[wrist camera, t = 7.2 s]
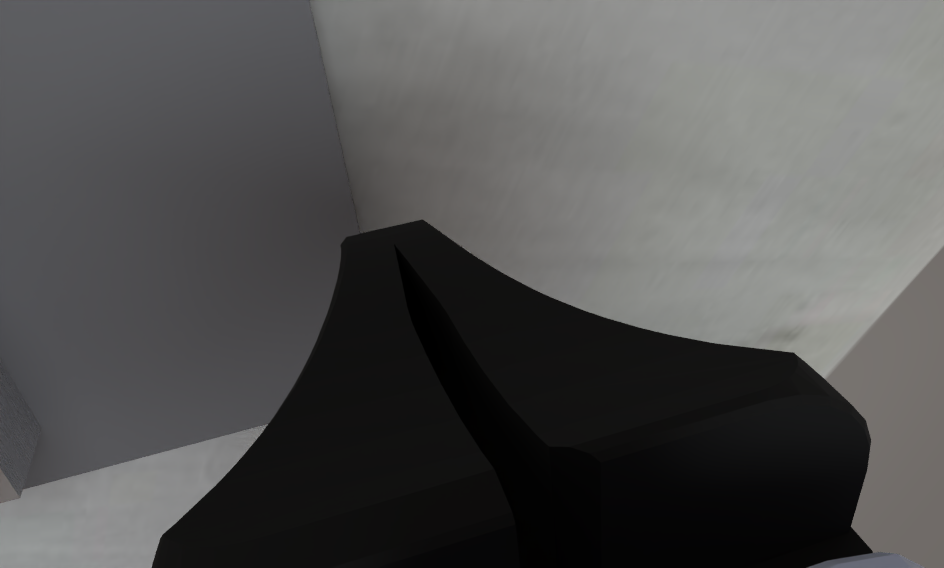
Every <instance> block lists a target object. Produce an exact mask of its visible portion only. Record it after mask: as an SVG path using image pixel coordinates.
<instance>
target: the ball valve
mask: <svg viewBox="0 0 944 568" xmlns="http://www.w3.org/2000/svg"><path fill="white" fill-rule="evenodd" d="M41 428H42V427H41V426H40V424H39V422H38V421H37V419H36V417H35V416H34V414H33V412H32V411H31V409H30V407H29V406H28V404H27V402H26V401H25V399H24V397H23V396H22V394H21V392H20V391H19V389H18V387H17V386H16V384H15V382H14V381H13V379H12V377H11V376H10V374H9V372H8V371H7V369H6V367H5V366H4V364H3V362H2V361H1V359H0V503H3V502H7V501H10V500H14V499H18V498H20V497H21V493H22V490H23V487H24V484H25V480H26V477H27V474H28V470H29V467H30V464H31V461H32V457H33V454H34V451H35V448H36V444H37V441H38V438H39V435H40V431H41Z"/></svg>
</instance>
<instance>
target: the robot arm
mask: <svg viewBox="0 0 944 568" xmlns="http://www.w3.org/2000/svg"><path fill="white" fill-rule="evenodd" d="M340 246H341V261H340V268H339V273H338V278H337V282H336V286H335V289H334V293H333V296H332V300H331V303H330V307H329V310H328V313H327V315H326V318H325V320H324V323H323V325H322V328H321V330H320V333H319V336H318V338H317V341H316V343H315V345H314V347H313V350H312V352H311V354H310V356H309V358H308V360H307V362H306V364H305V366H304V368H303V370H302V372H301V373H300V375H299V377H298V379H297V381H296V382H295V384H294V386H293V388H292V389H291V391H290V392H289V394H288V395H287V397H286V399H285V400H284V402H283V403H282V405H281V406H280V408H279V409H278V411H277V413H276V414H275V416H274V417H273V418H272V420H271V421H270V423H269V424H268V425H267V427H266V428H265V430H264V431H263V432H262V434H261V435H260V436H259V437H258V439H257V440H256V441H255V442H254V443H253V445H252V446H251V447H250V448H249V449H248V451H247V452H246V453H245V454H244V455H243V457H242V458H241V459H240V460H239V461H238V462H237V464H236V465H235V466H234V467H233V468H232V469H231V470H230V471H229V472H228V473H227V474H226V475H225V477H224V478H223V479H222V480H221V481H220V482H219V483H218V484H217V485H216V486H215V487H214V488H213V489H212V490H210V491H209V492H208V493H207V494H206V495H205V496H204V497H203V498H202V499H201V500H200V501H199V502H198V503H197V504H196V505H195V506H194V507H193V508H192V509H190V510H189V511H188V512H187V513H186V514H185V515H184V516H183V517H182V518H181V519H180V520H179V521H178V522H177V523H176V524H175V525H173V526H172V527H171V528H170V529H169V530H168V531H166V532H165V533H164V534H163V535H162V537H161V538H160V542H159V545H158V548H157V551H156V554H155V558H154V561H153V565H152V568H925V567H923V566H921V565H919V564H917V563H915V562H913V561H911V560H909V559H907V558H905V557H903V556H901V555H899V554H894V553H883V552H877V553H873V552H872V550H871V549H870V548H869V547H868V546H867V544H866V543H865V542H864V541H863V540H862V539H861V538H860V537H859V535H857V533H856V532H855V531H854V530H853V529H852V528H851V524H852V520H853V517H854V513H855V510H856V506H857V503H858V499H859V496H860V493H861V489H862V486H863V482H864V479H865V475H866V472H867V467H868V460H869V452H870V444H871V439H870V435H869V431H868V427H867V423H866V420H865V419H864V418H863V417H862V416H861V415H860V414H859V412H858V411H857V410H856V409H855V408H854V407H853V406H852V405H851V404H850V403H849V402H848V401H847V400H846V399H845V398H844V397H843V396H842V395H841V394H840V393H838V391H836V390H835V389H834V388H833V387H832V386H831V385H830V384H829V383H828V382H827V381H826V380H825V379H824V378H823V377H822V376H820V375H819V374H818V373H817V372H816V371H815V370H814V369H812V368H811V367H810V366H809V365H808V364H807V363H806V362H804V361H803V360H802V359H801V358H799V357H798V356H797V355H796V354H795V353H791V352H782V351H774V350H765V349H756V348H748V347H739V346H730V345H722V344H715V343H709V342H703V341H698V340H693V339H688V338H683V337H677V336H672V335H667V334H663V333H659V332H655V331H650V330H646V329H642V328H638V327H635V326H631V325H628V324H625V323H621V322H618V321H614V320H611V319H607V318H604V317H601V316H598V315H595V314H592V313H589V312H586V311H584V310H581V309H578V308H576V307H573V306H571V305H568V304H566V303H563V302H561V301H558V300H556V299H553V298H551V297H549V296H546V295H544V294H542V293H540V292H538V291H536V290H534V289H532V288H530V287H528V286H526V285H524V284H522V283H520V282H518V281H516V280H514V279H512V278H510V277H509V276H507V275H505V274H503V273H501V272H500V271H498V270H496V269H494V268H493V267H491V266H490V265H488V264H486V263H485V262H483V261H482V260H480V259H478V258H477V257H475V256H474V255H472V254H471V253H469V252H468V251H466V250H465V249H463V248H462V247H461V246H459V245H458V244H456V243H455V242H453V241H452V240H451V239H449V238H448V237H446V236H445V235H444V234H442V233H441V232H440V231H438V230H437V229H435V228H434V227H433V226H431V225H430V224H428V223H427V222H425V221H424V220H419V221H414V222H410V223H405V224H401V225H397V226H392V227H388V228H383V229H379V230H375V231H370V232H366V233H361V234H357V235H353V236H348V237H346V238H345V239H344V241H343V242H342V243H341V245H340Z"/></svg>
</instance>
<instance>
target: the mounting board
mask: <svg viewBox="0 0 944 568" xmlns="http://www.w3.org/2000/svg"><path fill="white" fill-rule="evenodd" d="M357 234H360V232H359V227H358V222H357V218H356V213H355V209H354V204H353V199H352V195H351V190H350V186H349V181H348V176H347V172H346V167H345V163H344V158H343V153H342V149H341V144H340V140H339V135H338V130H337V126H336V121H335V117H334V112H333V107H332V103H331V98H330V94H329V89H328V84H327V80H326V75H325V71H324V66H323V61H322V57H321V52H320V48H319V43H318V38H317V34H316V29H315V25H314V20H313V15H312V11H311V6H310V2H309V0H0V359H1V361H2V362H3V364H4V366H5V367H6V369H7V371H8V372H9V374H10V376H11V377H12V379H13V381H14V382H15V384H16V386H17V387H18V389H19V391H20V392H21V394H22V396H23V397H24V399H25V401H26V402H27V404H28V406H29V407H30V409H31V411H32V412H33V414H34V416H35V417H36V419H37V421H38V422H39V424H40V426H41V427H42V428H41V431H40V435H39V438H38V441H37V444H36V448H35V451H34V454H33V457H32V461H31V464H30V467H29V470H28V474H27V477H26V480H25V484H24V487H23V489H26V488H30V487H33V486H37V485H41V484H45V483H48V482H52V481H56V480H60V479H63V478H67V477H71V476H75V475H78V474H82V473H86V472H90V471H93V470H97V469H101V468H104V467H108V466H112V465H116V464H119V463H123V462H127V461H131V460H134V459H138V458H142V457H146V456H149V455H153V454H157V453H160V452H164V451H168V450H172V449H175V448H179V447H183V446H187V445H190V444H194V443H198V442H202V441H205V440H209V439H213V438H216V437H220V436H224V435H228V434H231V433H235V432H239V431H243V430H246V429H250V428H254V427H258V426H261V425H265V424H269V423H270V421H271V420H272V418H273V417H274V416H275V414H276V413H277V411H278V409H279V408H280V406H281V405H282V403H283V402H284V400H285V399H286V397H287V395H288V394H289V392H290V391H291V389H292V388H293V386H294V384H295V382H296V381H297V379H298V377H299V375H300V373H301V372H302V370H303V368H304V366H305V364H306V362H307V360H308V358H309V356H310V354H311V352H312V350H313V347H314V345H315V343H316V341H317V338H318V336H319V333H320V330H321V328H322V325H323V323H324V320H325V318H326V315H327V313H328V310H329V307H330V303H331V300H332V296H333V293H334V289H335V286H336V282H337V278H338V273H339V268H340V261H341V246H340V245H341V243H342V242H343V241H344V239H345V238H346V237H348V236H353V235H357Z"/></svg>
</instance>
